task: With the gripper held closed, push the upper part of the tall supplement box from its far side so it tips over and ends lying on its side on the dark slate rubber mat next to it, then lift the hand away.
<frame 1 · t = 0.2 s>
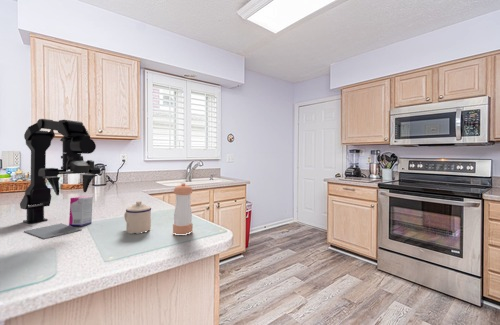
hand: (71, 193, 91), 14 cm above the worktop, tool pointing down, fingers open, 9 cm apart
slate mat: (53, 230, 91), on the worktop
pepper shaker: (182, 233, 92), on the worktop
supplement box: (80, 224, 100), on the worktop, touching slate mat
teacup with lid: (136, 230, 94), on the worktop
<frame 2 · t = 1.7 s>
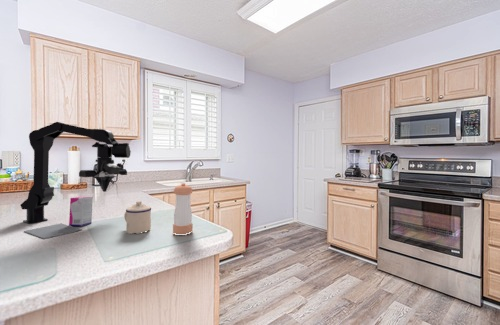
hand: (104, 191, 108), 13 cm above the worktop, tool pointing down, fingers closed
nothing on the worktop moved.
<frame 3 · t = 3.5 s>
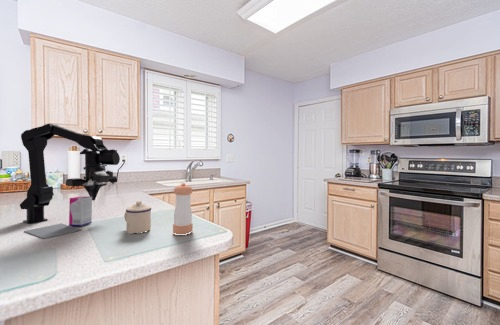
hand: (93, 200, 104), 10 cm above the worktop, tool pointing down, fingers closed
supplement box: (80, 224, 100), on the worktop, touching gripper, slate mat
everything else where it was.
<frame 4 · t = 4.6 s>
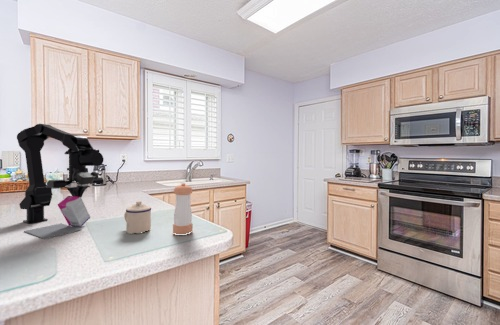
hand: (77, 202, 98), 9 cm above the worktop, tool pointing down, fingers closed
supplement box: (80, 221, 99), point 2 cm above the worktop, touching slate mat
everything else where it was.
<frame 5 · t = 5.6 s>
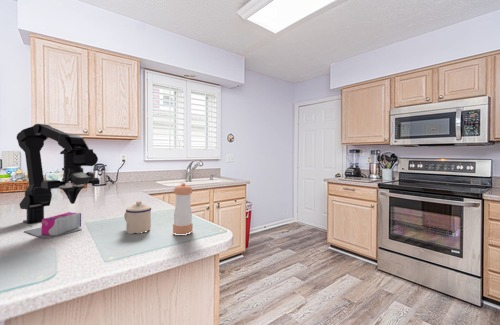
hand: (72, 203, 97), 10 cm above the worktop, tool pointing down, fingers closed
supplement box: (75, 218, 97), point 3 cm above the worktop, touching slate mat
everything else where it was.
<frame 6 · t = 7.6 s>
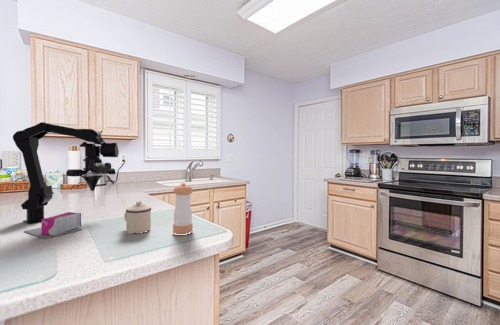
hand: (92, 190, 109), 13 cm above the worktop, tool pointing down, fingers closed
nothing on the worktop moved.
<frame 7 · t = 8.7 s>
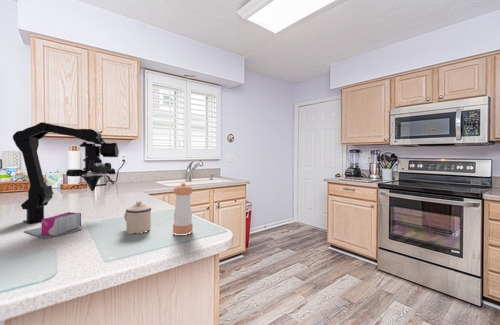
hand: (92, 190, 109), 13 cm above the worktop, tool pointing down, fingers closed
nothing on the worktop moved.
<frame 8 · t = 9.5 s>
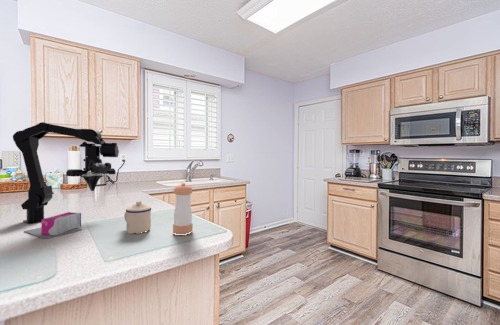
hand: (92, 190, 109), 13 cm above the worktop, tool pointing down, fingers closed
nothing on the worktop moved.
at the end: supplement box tilted 92°; supplement box touching slate mat; supplement box inside the target area (3.1 cm from its centre), point 3.3 cm above the worktop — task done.
